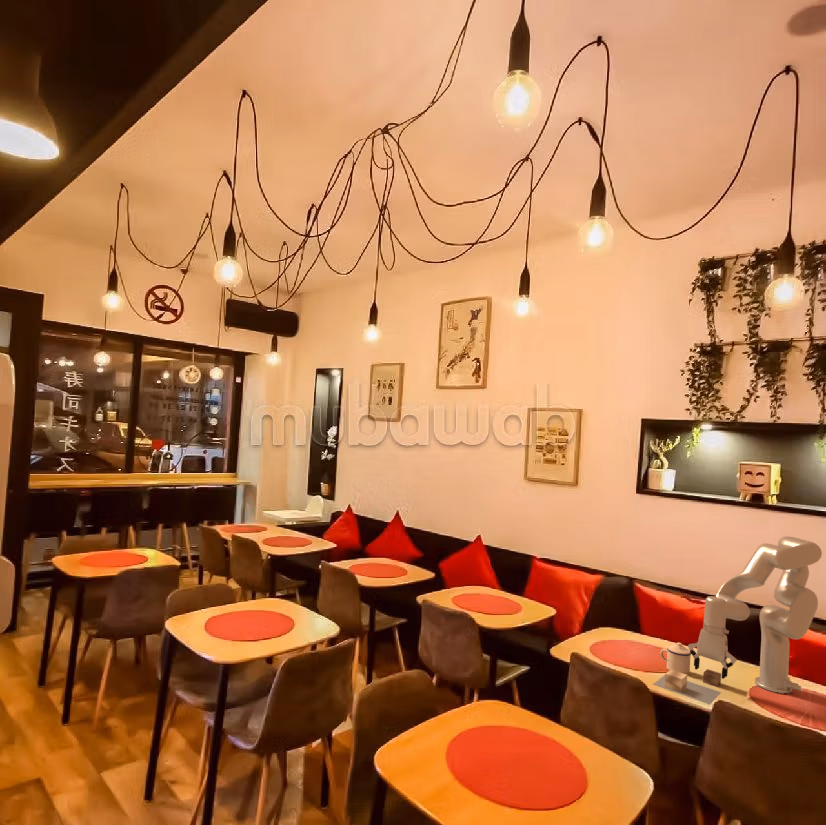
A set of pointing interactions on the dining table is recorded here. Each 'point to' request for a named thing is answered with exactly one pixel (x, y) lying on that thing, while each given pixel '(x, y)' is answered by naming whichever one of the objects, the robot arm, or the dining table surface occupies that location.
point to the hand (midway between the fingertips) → (709, 673)
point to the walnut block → (712, 678)
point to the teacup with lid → (677, 658)
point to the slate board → (693, 691)
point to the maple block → (676, 681)
